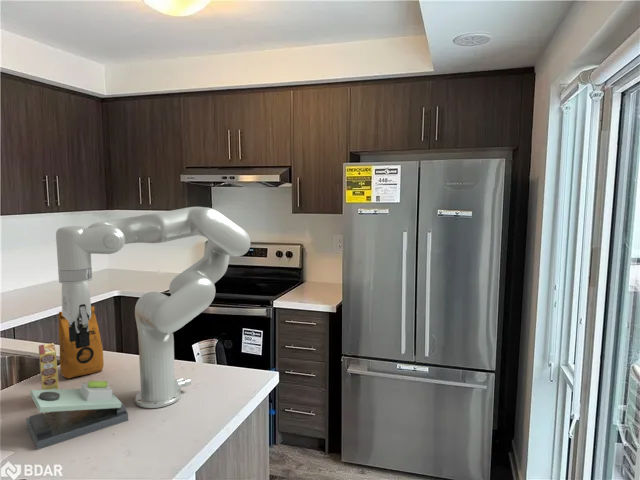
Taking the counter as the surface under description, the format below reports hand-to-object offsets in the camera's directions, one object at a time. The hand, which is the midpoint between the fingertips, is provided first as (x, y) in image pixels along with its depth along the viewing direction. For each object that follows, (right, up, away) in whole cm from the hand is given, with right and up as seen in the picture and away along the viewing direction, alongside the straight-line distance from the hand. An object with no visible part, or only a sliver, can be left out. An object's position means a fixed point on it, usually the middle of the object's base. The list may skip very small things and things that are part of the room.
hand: (79, 343), depth 119 cm
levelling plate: (-1, -15, +1) cm, 16 cm away
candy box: (-16, -20, +15) cm, 30 cm away
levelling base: (-1, -21, +2) cm, 22 cm away
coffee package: (-16, -17, +33) cm, 41 cm away
